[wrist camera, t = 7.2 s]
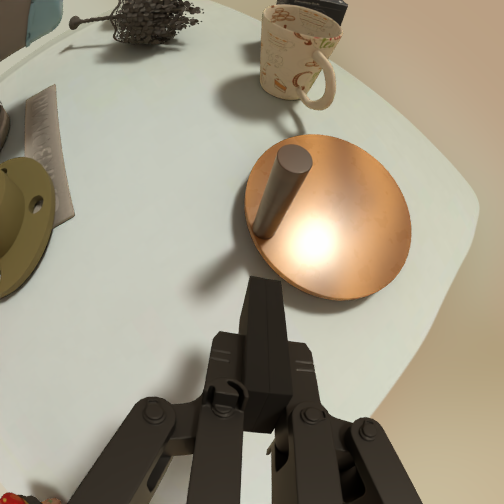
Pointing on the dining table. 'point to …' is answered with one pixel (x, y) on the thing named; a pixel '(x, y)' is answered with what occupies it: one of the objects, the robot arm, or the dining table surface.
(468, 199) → the dining table surface
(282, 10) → the mug
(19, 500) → the figurine
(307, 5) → the box
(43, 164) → the nameplate
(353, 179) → the wooden disc with post
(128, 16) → the massage brush
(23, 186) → the flange
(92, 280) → the dining table surface
